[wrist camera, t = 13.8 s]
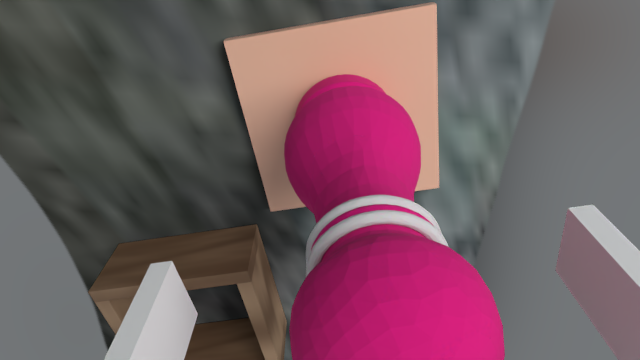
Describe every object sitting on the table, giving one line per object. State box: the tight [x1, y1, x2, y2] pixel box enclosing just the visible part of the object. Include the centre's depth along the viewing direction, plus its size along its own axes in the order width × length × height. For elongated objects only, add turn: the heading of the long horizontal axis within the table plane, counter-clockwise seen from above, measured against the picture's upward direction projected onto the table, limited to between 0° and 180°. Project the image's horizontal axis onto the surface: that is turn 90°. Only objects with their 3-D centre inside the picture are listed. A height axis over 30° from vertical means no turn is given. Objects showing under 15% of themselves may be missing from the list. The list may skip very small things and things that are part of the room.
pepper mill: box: [284, 74, 505, 360], centre depth 17 cm, size 7×7×20 cm
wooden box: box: [88, 224, 287, 360], centre depth 32 cm, size 11×11×5 cm
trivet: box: [223, 2, 439, 212], centre depth 26 cm, size 12×12×1 cm
